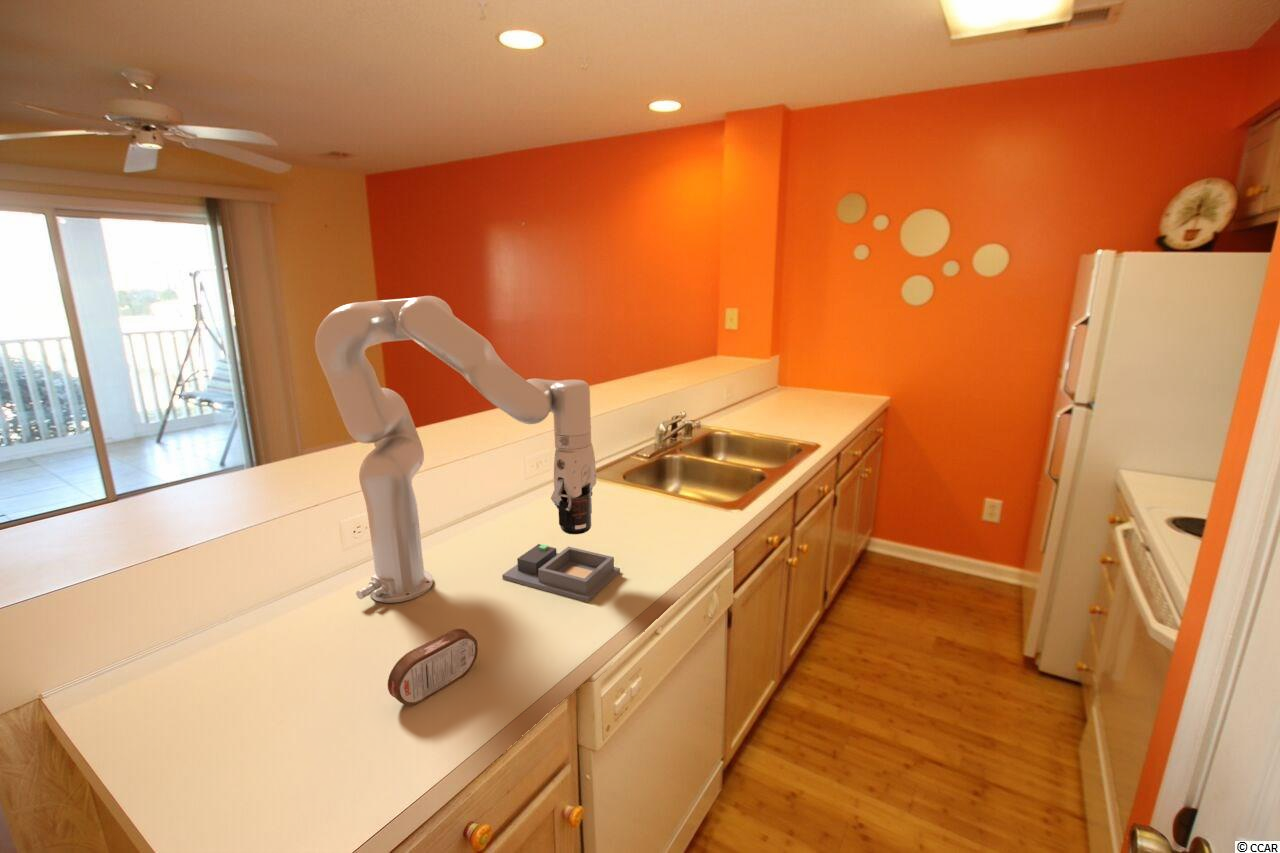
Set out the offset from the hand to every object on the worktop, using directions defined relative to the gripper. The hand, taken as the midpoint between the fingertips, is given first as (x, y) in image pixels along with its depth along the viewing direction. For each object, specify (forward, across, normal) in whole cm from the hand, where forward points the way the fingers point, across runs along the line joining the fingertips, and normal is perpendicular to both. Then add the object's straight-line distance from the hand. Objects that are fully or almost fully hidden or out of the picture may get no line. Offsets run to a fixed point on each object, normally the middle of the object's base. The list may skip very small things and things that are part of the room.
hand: (575, 519), depth 125 cm
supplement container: (+2, 0, 0) cm, 2 cm away
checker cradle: (+14, 0, +4) cm, 15 cm away
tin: (+15, -40, +2) cm, 42 cm away
